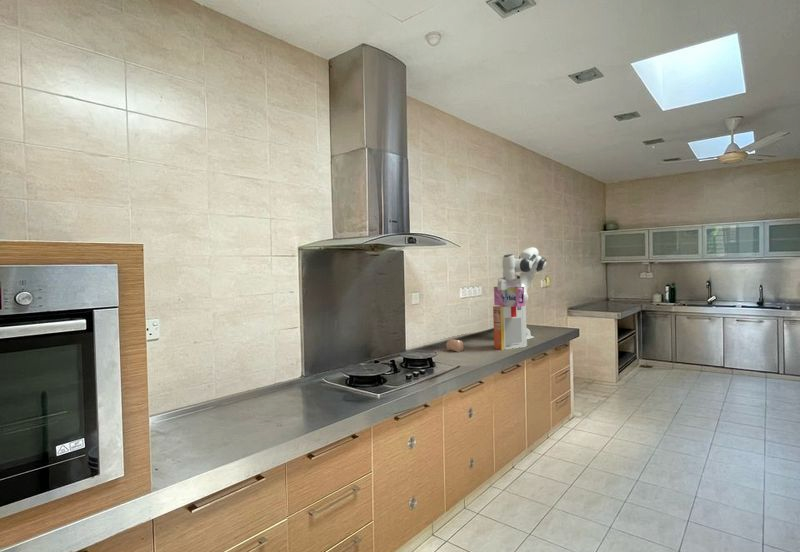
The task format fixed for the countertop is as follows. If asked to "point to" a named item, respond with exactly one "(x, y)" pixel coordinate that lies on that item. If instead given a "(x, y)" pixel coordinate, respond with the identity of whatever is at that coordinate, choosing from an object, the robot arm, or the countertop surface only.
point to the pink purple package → (509, 297)
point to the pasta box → (509, 327)
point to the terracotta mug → (454, 345)
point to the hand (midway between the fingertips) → (509, 296)
